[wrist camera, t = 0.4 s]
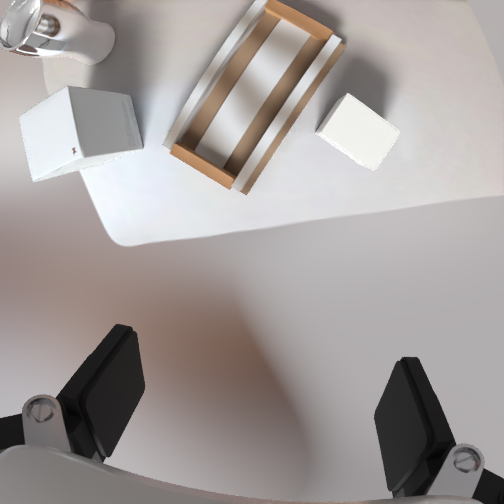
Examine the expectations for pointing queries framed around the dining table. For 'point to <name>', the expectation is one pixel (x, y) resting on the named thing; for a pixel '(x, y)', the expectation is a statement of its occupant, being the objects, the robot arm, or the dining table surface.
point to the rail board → (253, 93)
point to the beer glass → (54, 31)
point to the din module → (358, 132)
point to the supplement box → (78, 131)
